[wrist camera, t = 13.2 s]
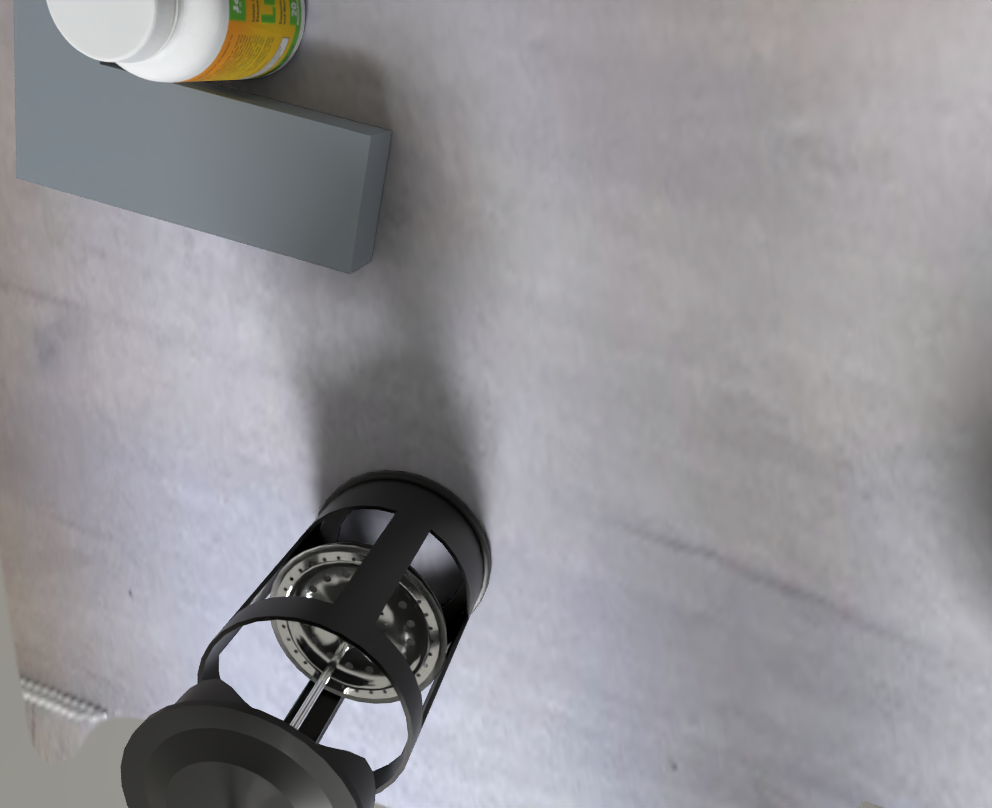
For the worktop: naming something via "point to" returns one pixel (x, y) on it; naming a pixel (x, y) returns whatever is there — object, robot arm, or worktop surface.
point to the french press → (321, 660)
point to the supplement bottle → (184, 36)
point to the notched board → (195, 152)
